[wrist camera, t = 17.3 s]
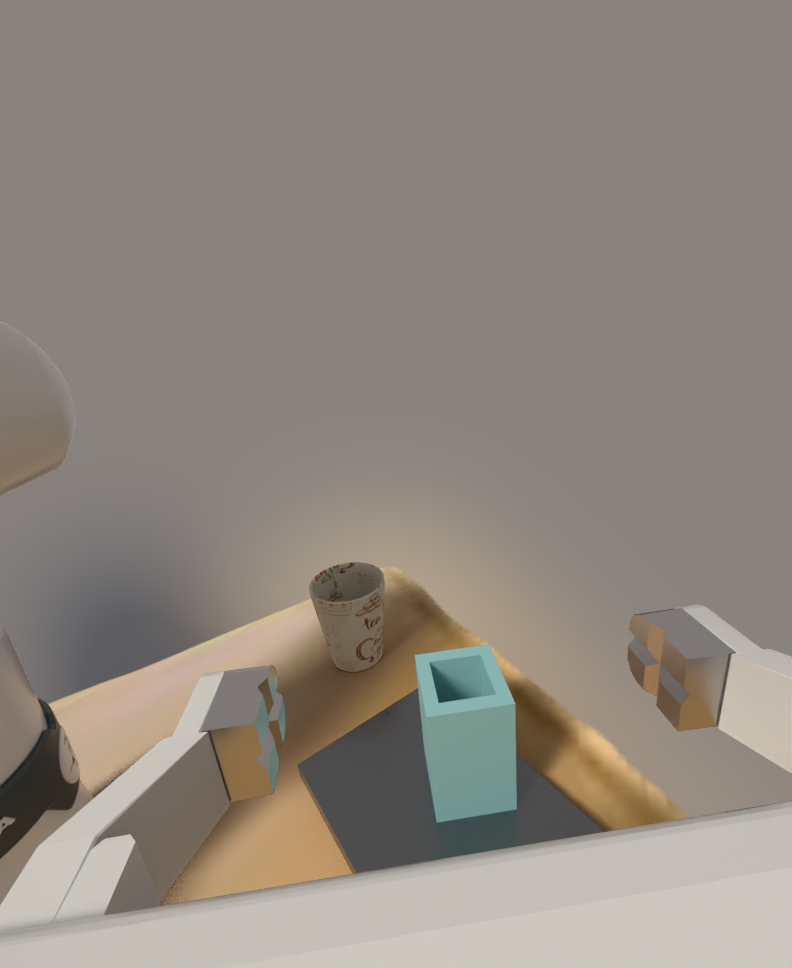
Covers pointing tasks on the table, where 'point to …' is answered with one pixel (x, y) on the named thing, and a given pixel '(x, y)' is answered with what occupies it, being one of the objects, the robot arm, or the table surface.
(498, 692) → the sleeve
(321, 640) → the table surface
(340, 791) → the plate
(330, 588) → the mug
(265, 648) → the table surface
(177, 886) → the table surface
